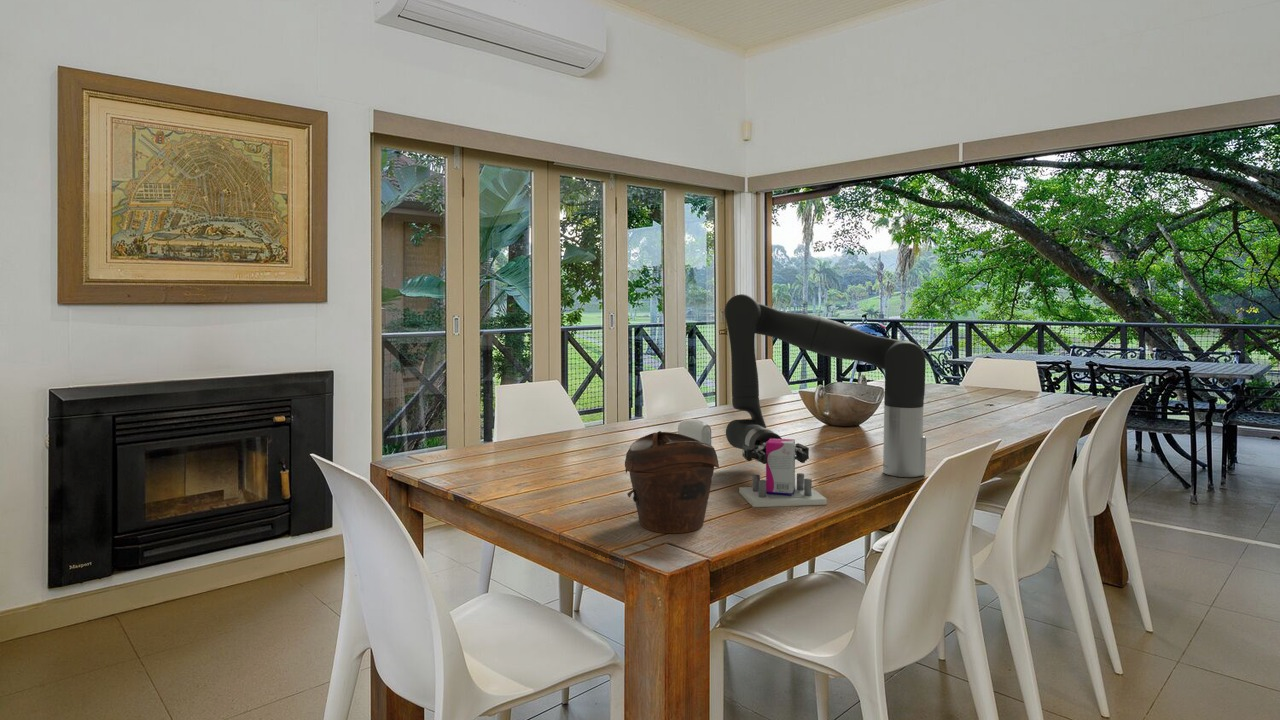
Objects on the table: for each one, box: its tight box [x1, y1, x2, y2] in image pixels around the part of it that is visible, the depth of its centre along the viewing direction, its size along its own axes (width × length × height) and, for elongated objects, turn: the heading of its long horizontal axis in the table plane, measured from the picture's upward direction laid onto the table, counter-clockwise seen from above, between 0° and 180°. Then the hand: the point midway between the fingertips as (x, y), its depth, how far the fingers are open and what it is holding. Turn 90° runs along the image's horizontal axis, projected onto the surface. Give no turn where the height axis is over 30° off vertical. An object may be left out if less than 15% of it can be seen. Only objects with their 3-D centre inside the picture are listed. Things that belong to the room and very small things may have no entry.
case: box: [624, 430, 720, 534], centre depth 141 cm, size 18×20×18 cm
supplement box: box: [765, 438, 796, 496], centre depth 159 cm, size 6×6×12 cm
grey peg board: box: [739, 472, 828, 508], centre depth 159 cm, size 16×12×5 cm
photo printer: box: [677, 418, 712, 446], centre depth 192 cm, size 10×4×12 cm, turn 39°
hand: (784, 458), depth 156 cm, fingers open, 8 cm apart
